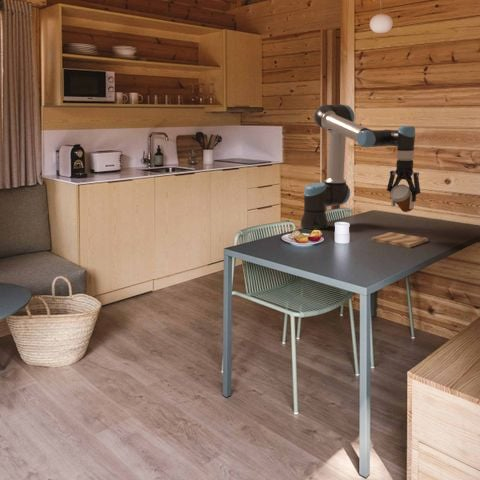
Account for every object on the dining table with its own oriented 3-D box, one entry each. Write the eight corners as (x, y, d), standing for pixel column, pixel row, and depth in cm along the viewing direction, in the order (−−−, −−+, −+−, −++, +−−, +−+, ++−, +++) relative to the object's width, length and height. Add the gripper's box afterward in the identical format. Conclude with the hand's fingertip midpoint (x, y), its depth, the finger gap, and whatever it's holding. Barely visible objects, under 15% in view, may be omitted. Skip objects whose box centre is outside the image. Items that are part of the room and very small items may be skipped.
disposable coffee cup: (407, 217, 264) (399, 202, 256) (393, 209, 271) (385, 194, 264) (421, 204, 265) (414, 188, 257) (407, 196, 272) (400, 180, 264)
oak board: (371, 241, 268) (371, 238, 267) (390, 235, 280) (390, 232, 280) (409, 247, 254) (409, 244, 254) (427, 241, 266) (427, 238, 266)
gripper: (430, 160, 254) (427, 208, 260) (388, 157, 269) (386, 203, 274) (422, 161, 249) (419, 210, 254) (380, 158, 264) (378, 205, 269)
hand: (402, 207), depth 264 cm, fingers closed on disposable coffee cup, 9 cm apart
